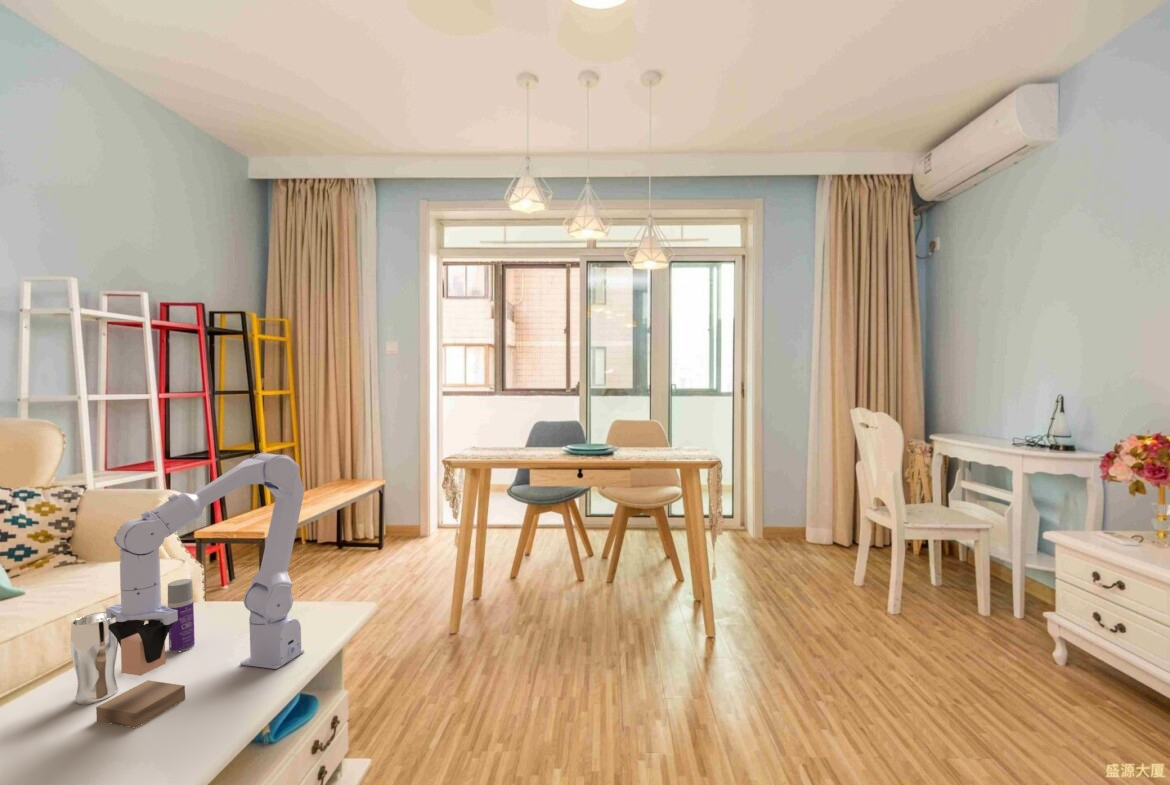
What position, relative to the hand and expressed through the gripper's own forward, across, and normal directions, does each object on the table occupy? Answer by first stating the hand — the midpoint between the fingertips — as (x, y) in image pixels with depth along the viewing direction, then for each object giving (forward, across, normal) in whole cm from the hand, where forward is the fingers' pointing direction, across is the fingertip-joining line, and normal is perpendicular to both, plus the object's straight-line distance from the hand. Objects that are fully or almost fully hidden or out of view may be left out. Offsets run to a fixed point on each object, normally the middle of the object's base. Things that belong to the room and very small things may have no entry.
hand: (143, 658), depth 102 cm
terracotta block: (+2, 0, 0) cm, 2 cm away
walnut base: (+9, 0, -1) cm, 9 cm away
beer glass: (+9, -13, +1) cm, 16 cm away
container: (+9, -16, +20) cm, 27 cm away
